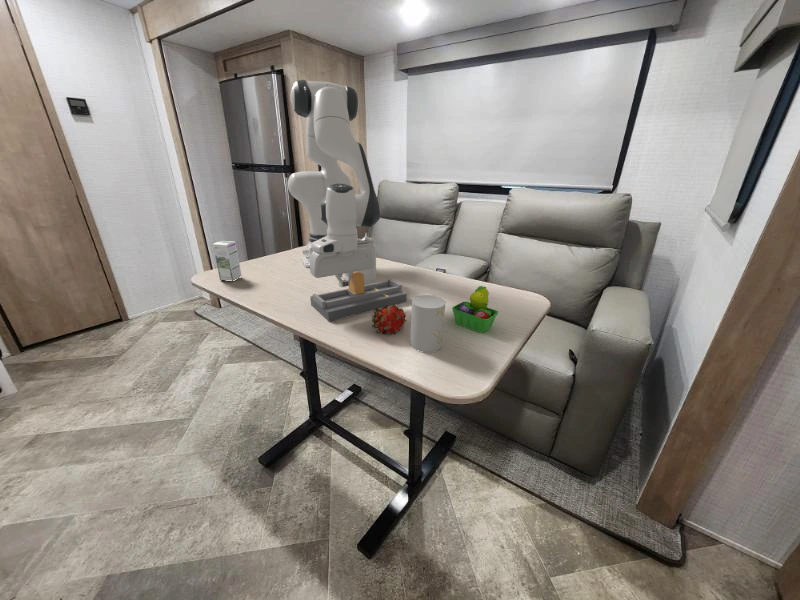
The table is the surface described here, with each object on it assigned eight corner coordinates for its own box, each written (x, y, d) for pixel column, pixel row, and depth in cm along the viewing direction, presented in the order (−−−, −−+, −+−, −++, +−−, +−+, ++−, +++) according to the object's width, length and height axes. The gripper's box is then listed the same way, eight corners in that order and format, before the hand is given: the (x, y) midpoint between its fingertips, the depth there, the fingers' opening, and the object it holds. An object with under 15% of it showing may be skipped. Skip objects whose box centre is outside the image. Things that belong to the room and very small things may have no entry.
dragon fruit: (369, 343, 86) (399, 334, 95) (390, 335, 81) (420, 326, 89) (359, 313, 88) (390, 307, 96) (379, 303, 82) (410, 297, 91)
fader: (347, 293, 106) (346, 272, 103) (358, 291, 108) (357, 270, 105) (354, 298, 102) (354, 276, 99) (365, 296, 104) (365, 274, 101)
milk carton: (356, 287, 121) (354, 236, 113) (357, 280, 127) (356, 232, 120) (375, 287, 121) (375, 236, 113) (376, 281, 127) (376, 232, 120)
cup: (438, 354, 79) (442, 310, 75) (406, 349, 81) (408, 305, 77) (443, 339, 87) (447, 297, 82) (414, 334, 89) (416, 293, 84)
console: (310, 305, 104) (308, 290, 102) (384, 288, 120) (385, 276, 118) (327, 321, 94) (326, 306, 92) (407, 301, 109) (407, 287, 107)
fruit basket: (449, 323, 95) (452, 287, 91) (464, 314, 101) (468, 280, 97) (484, 336, 88) (490, 298, 84) (498, 325, 95) (504, 289, 90)
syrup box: (242, 277, 127) (236, 240, 121) (233, 282, 122) (226, 244, 116) (229, 276, 128) (222, 239, 122) (219, 281, 122) (211, 243, 117)
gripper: (368, 237, 104) (368, 277, 109) (305, 243, 93) (309, 288, 98) (378, 240, 99) (378, 283, 105) (314, 248, 88) (317, 295, 94)
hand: (344, 286), depth 101 cm, fingers closed
